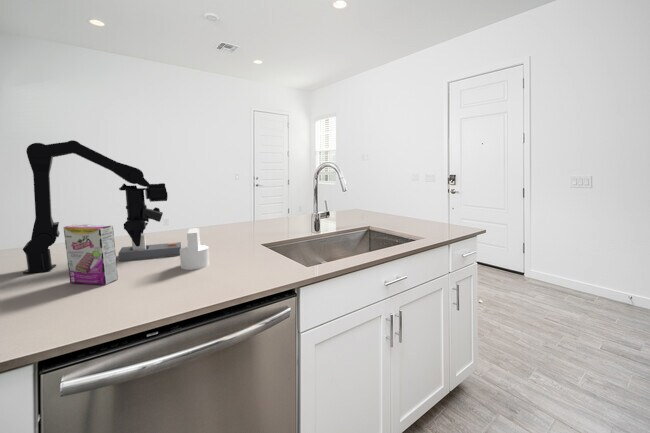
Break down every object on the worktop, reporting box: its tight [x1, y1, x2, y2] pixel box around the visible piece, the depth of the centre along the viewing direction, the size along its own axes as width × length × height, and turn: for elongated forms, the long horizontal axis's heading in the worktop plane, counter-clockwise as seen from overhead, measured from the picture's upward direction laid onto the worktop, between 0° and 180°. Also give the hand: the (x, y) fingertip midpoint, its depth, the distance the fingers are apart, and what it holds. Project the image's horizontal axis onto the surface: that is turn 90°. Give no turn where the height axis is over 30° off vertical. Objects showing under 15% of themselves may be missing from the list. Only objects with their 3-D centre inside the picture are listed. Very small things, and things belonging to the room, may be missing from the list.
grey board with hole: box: [117, 242, 182, 262], centre depth 119 cm, size 9×26×4 cm, turn 116°
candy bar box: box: [63, 223, 119, 286], centre depth 88 cm, size 11×5×16 cm, turn 84°
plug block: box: [131, 232, 147, 250], centre depth 115 cm, size 4×4×8 cm
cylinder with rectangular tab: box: [179, 227, 210, 271], centre depth 104 cm, size 9×9×12 cm
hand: (139, 244), depth 115 cm, fingers open, 7 cm apart
